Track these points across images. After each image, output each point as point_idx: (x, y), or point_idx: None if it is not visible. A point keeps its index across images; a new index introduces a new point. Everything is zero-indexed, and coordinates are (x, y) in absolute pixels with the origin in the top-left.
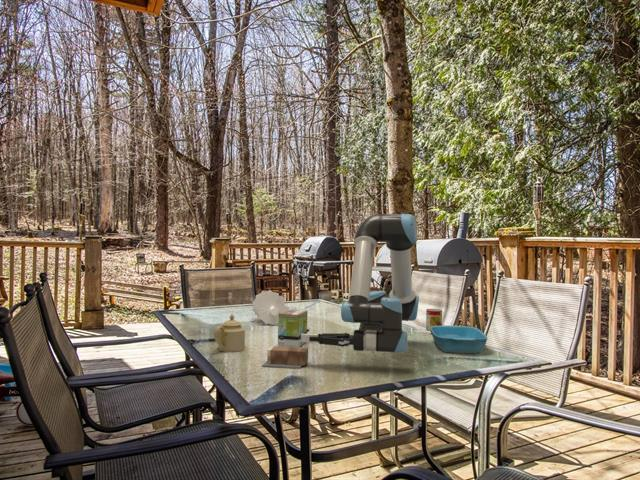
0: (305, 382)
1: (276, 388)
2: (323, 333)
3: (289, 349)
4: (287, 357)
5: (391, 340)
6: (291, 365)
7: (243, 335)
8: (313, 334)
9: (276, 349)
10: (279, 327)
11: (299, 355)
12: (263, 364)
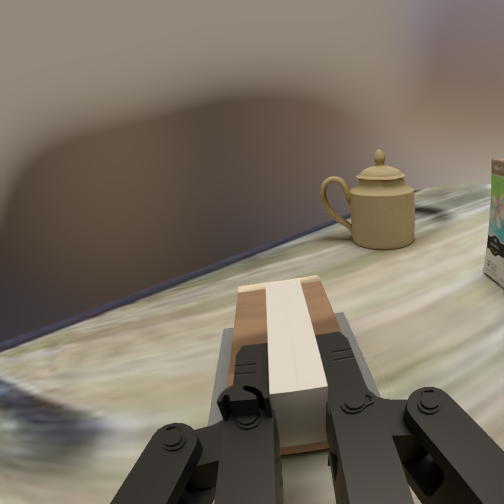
0: (17, 465)
1: (6, 396)
2: (422, 404)
3: None
4: None
5: None
6: None
7: (391, 210)
8: (297, 344)
9: (255, 301)
10: (492, 209)
11: None
12: (233, 328)
